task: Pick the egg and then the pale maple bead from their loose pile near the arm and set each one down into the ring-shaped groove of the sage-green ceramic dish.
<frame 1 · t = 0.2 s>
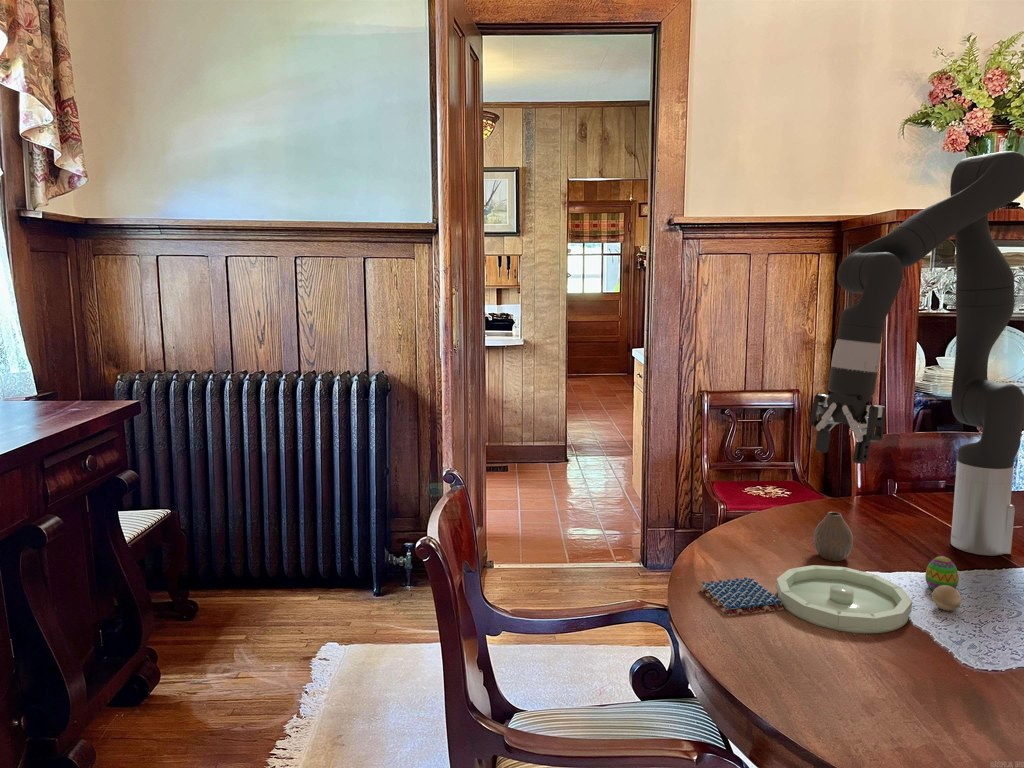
hand: (839, 457, 128), 22 cm above the table, tool pointing down, fingers open, 8 cm apart
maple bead: (945, 609, 116), on the table
vase: (832, 558, 139), on the table
woven mat: (740, 603, 121), on the table
groove dish: (841, 604, 119), on the table
egg: (940, 590, 124), on the table
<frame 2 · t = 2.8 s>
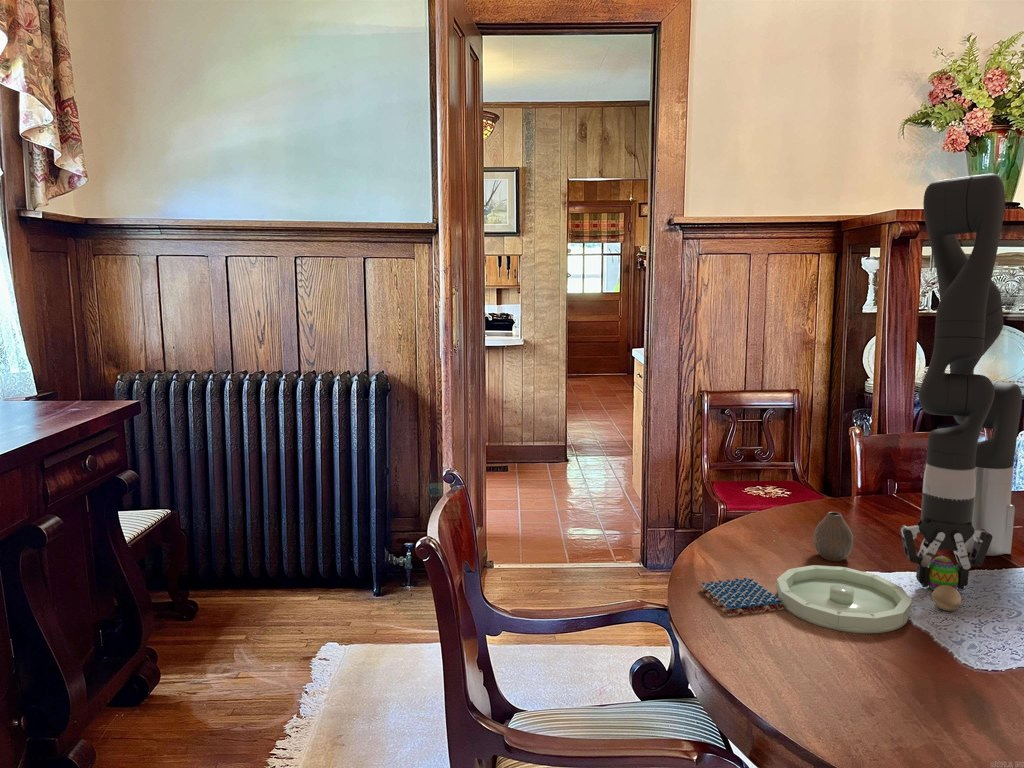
hand: (941, 586, 124), 1 cm above the table, tool pointing down, fingers closed on egg, 5 cm apart
egg: (940, 590, 124), on the table, touching gripper
everything else where it was.
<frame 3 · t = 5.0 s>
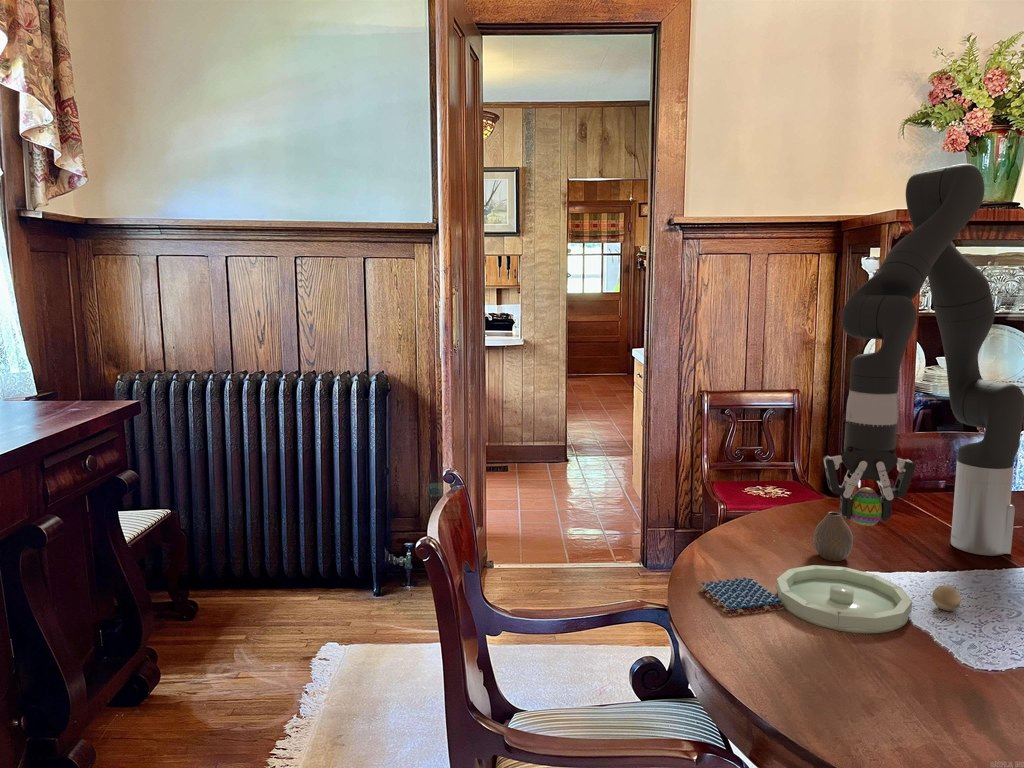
hand: (864, 518, 119), 14 cm above the table, tool pointing down, fingers closed on egg, 5 cm apart
egg: (864, 523, 119), point 13 cm above the table, touching gripper
everything else where it was.
when the fingers open (3 cm above the table, at t = 7.5 s): egg drops 1 cm, resting on groove dish.
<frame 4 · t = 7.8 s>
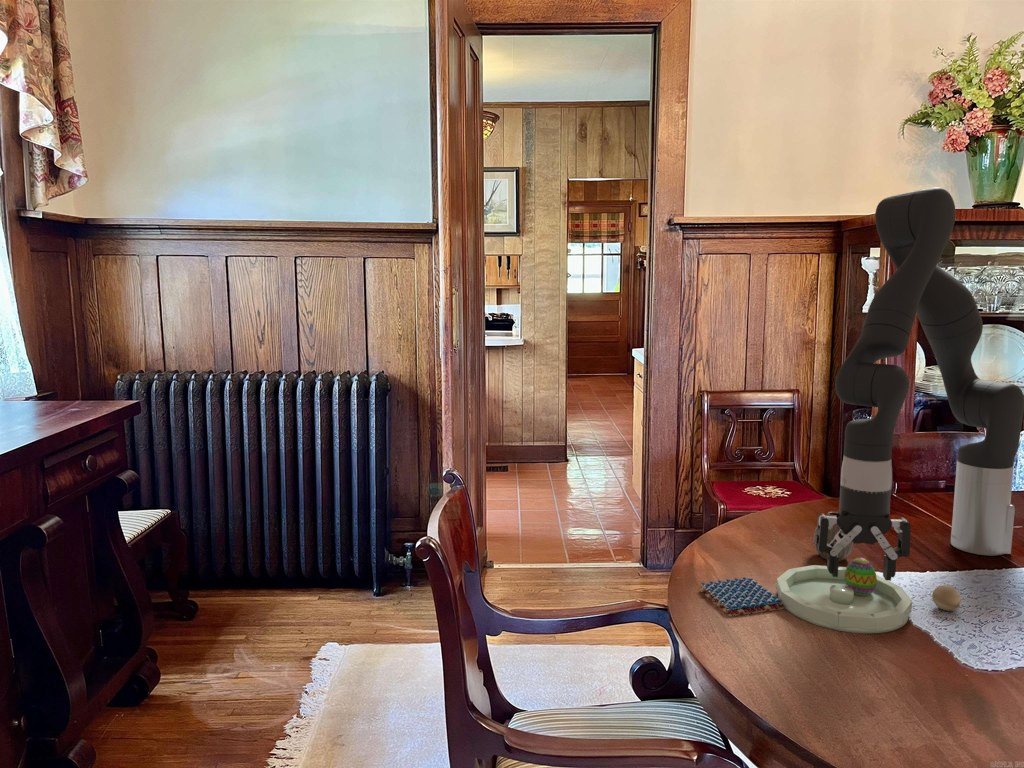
hand: (860, 576, 121), 4 cm above the table, tool pointing down, fingers open, 8 cm apart
egg: (859, 593, 121), point 1 cm above the table, touching groove dish
everything else where it was.
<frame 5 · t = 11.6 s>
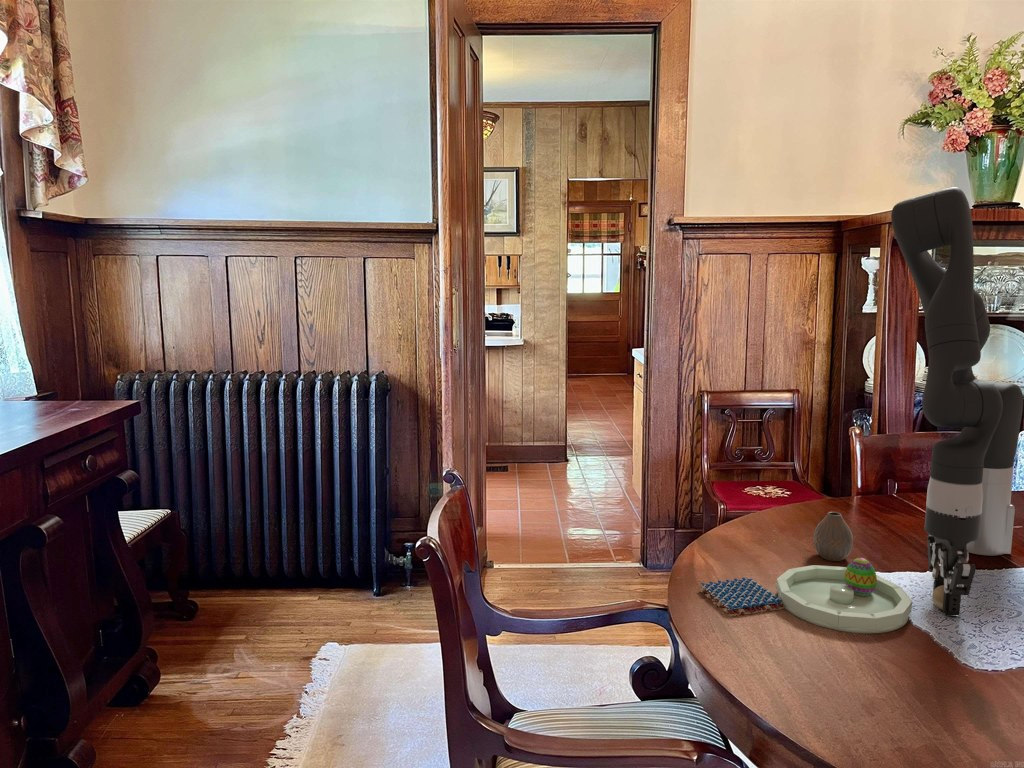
hand: (945, 608, 116), 0 cm above the table, tool pointing down, fingers closed on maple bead, 4 cm apart
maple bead: (945, 609, 116), on the table, touching gripper
everything else where it was.
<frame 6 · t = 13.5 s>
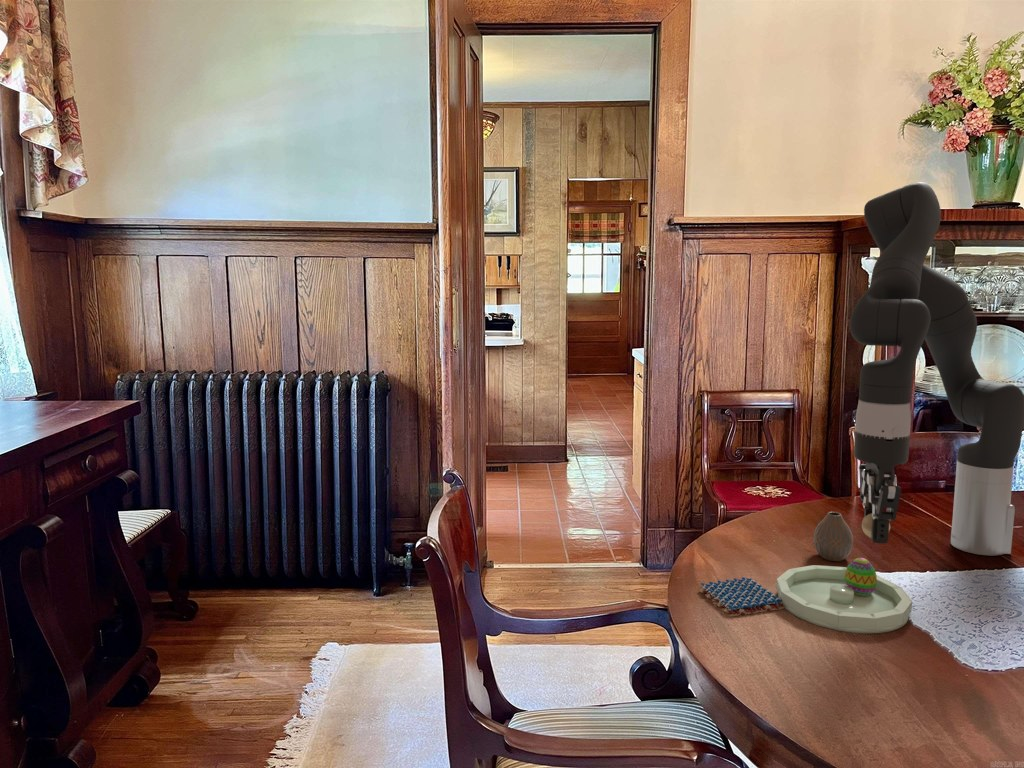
hand: (875, 536, 113), 13 cm above the table, tool pointing down, fingers closed on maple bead, 4 cm apart
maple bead: (875, 538, 113), point 13 cm above the table, touching gripper
everything else where it was.
when the fingers open (3 cm above the table, at t = 15.8 s): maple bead drops 1 cm, resting on groove dish.
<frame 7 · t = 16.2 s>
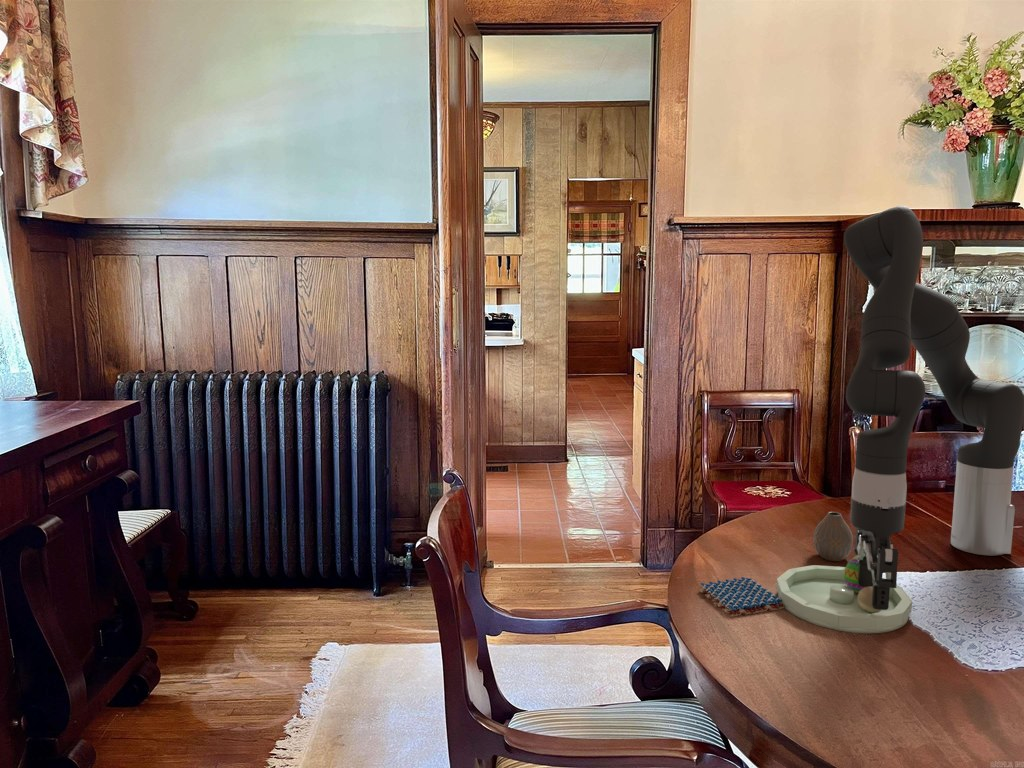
hand: (872, 596, 114), 3 cm above the table, tool pointing down, fingers open, 8 cm apart
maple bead: (870, 611, 114), point 1 cm above the table, touching groove dish
egg: (859, 591, 121), point 1 cm above the table, touching gripper, groove dish
everything else where it was.
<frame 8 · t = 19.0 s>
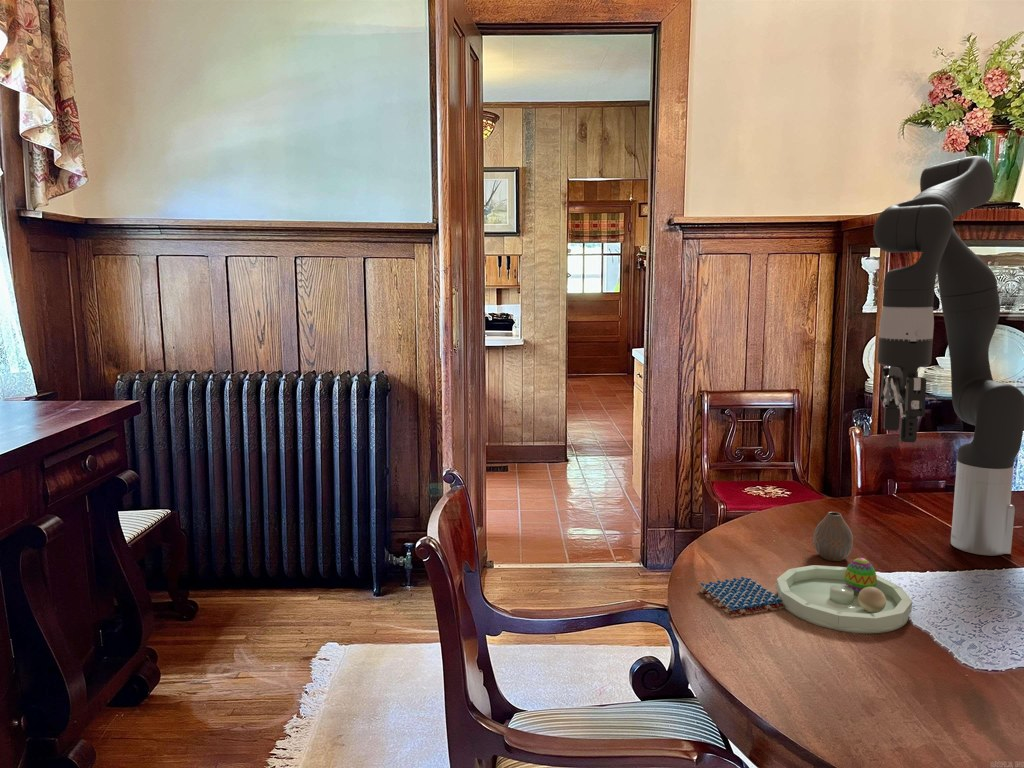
hand: (899, 435, 116), 28 cm above the table, tool pointing down, fingers open, 8 cm apart
egg: (859, 593, 121), point 1 cm above the table, touching groove dish
everything else where it was.
at the end: egg 5.2 cm from the groove dish (horizontally); egg point 0.6 cm above the table; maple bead 5.1 cm from the groove dish (horizontally) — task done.
